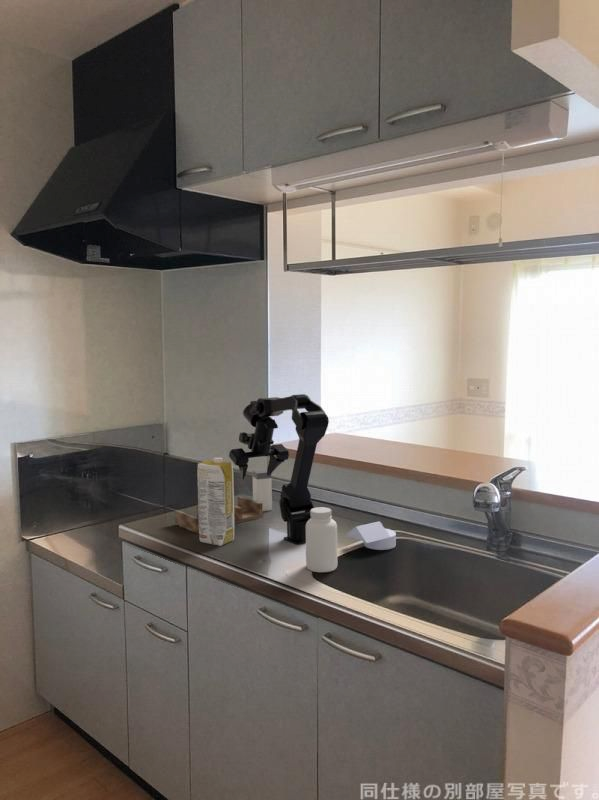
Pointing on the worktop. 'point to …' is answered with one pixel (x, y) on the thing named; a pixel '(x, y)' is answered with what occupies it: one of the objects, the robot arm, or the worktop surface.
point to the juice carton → (216, 501)
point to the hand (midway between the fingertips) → (255, 477)
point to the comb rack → (241, 513)
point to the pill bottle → (321, 541)
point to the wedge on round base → (374, 536)
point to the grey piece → (262, 489)
